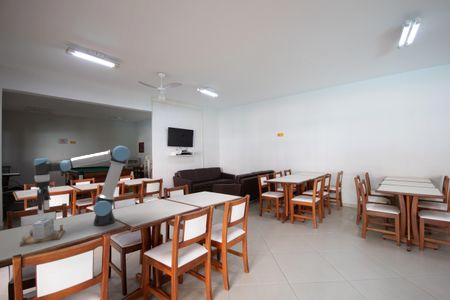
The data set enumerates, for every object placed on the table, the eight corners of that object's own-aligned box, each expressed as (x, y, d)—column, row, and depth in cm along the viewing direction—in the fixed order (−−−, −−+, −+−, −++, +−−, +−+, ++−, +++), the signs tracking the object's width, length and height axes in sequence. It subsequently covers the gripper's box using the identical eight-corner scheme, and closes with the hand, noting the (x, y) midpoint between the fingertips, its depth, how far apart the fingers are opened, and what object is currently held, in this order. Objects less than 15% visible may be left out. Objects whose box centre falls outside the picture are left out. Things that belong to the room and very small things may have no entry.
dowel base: (64, 231, 152) (64, 224, 152) (59, 239, 138) (59, 231, 138) (28, 237, 142) (28, 229, 142) (19, 246, 129) (19, 237, 129)
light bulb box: (43, 233, 145) (43, 218, 145) (54, 232, 146) (54, 217, 146) (32, 240, 134) (32, 223, 134) (44, 239, 136) (44, 222, 136)
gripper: (41, 179, 149) (42, 208, 150) (28, 184, 127) (30, 218, 128) (54, 178, 153) (55, 206, 153) (43, 183, 131) (45, 216, 131)
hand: (44, 212), depth 140 cm, fingers open, 13 cm apart
